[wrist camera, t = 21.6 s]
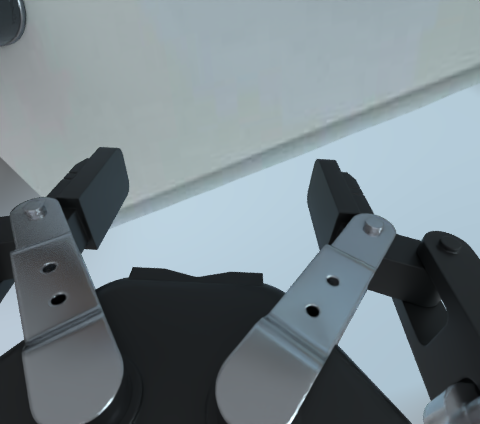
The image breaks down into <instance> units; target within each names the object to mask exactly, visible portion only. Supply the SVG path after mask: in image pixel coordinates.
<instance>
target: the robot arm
mask: <svg viewBox="0 0 480 424" xmlns="http://www.w3.org/2000/svg"><path fill="white" fill-rule="evenodd" d="M25 25H26V12H25V7H24V3H23V0H0V46H5V45H10V44H12V43H14V42H16V41H17V40H18V39H19V38H20V37H21V36H22V34H23V32H24V29H25ZM128 192H129V180H128V175H127V171H126V167H125V162H124V158H123V154H122V151H121V149H120V148H107V147H99V148H98V149H97V150H96V152H95V153H94V154H93V155H92V156H91V157H90V158H87V159H85V160H83V161H81V162H79V163H78V164H76V165H75V166H74V167H73V168H72V169H71V170H70V171H69V173H68V174H67V175H66V176H65V177H64V179H62V180H61V181H60V182H59V183H58V185H57V186H56V187H55V188H54V189H53V190H52V191H51V192H50V193H49V194H48V195H47V197H39V198H34V199H31V200H27V201H25V202H23V203H21V204H19V205H18V206H16V207H15V208H14V209H13V210H12V211H11V213H10V216H4V217H0V303H1V301H2V299H3V298H4V297H5V295H6V293H7V292H8V291H9V289H10V288H11V286H12V285H13V284H14V282H15V287H16V293H17V299H18V305H19V311H20V316H21V323H22V328H23V334H24V340H23V341H21V342H20V343H19V344H17V345H16V346H14V347H13V348H11V349H10V350H9V351H7V352H6V353H4V354H3V355H2V356H0V424H412V423H411V422H410V421H409V420H408V419H407V418H406V417H405V416H404V415H403V414H402V413H401V411H400V410H399V409H398V408H397V407H396V406H395V405H394V404H393V403H392V402H391V401H390V400H389V399H388V398H387V397H386V396H385V395H384V393H383V392H382V391H380V389H379V388H378V387H377V386H376V385H375V384H374V383H373V382H372V381H371V380H370V379H369V378H368V377H367V376H366V375H365V373H364V372H363V371H362V370H361V369H360V368H359V367H358V366H357V365H356V364H355V363H354V362H353V361H352V360H351V359H350V358H349V357H348V356H347V354H346V353H345V352H344V351H343V350H342V349H341V348H340V347H339V346H338V343H339V341H340V339H341V337H342V335H343V333H344V332H345V330H346V328H347V326H348V324H349V322H350V320H351V319H352V317H353V315H354V313H355V311H356V310H357V308H358V306H359V304H360V302H361V300H362V298H363V297H364V295H365V293H366V291H367V289H368V290H371V291H374V292H377V293H380V294H384V295H387V296H390V297H392V299H393V302H394V305H395V307H396V310H397V313H398V315H399V318H400V320H401V323H402V326H403V328H404V331H405V334H406V336H407V339H408V342H409V344H410V347H411V349H412V352H413V355H414V357H415V360H416V363H417V365H418V368H419V371H420V373H421V376H422V378H423V381H424V384H425V386H426V389H427V391H428V394H429V397H430V400H431V402H430V403H428V404H427V406H426V407H425V410H424V414H423V421H424V424H480V259H479V258H478V256H477V255H476V254H475V252H474V251H473V250H472V249H471V247H470V246H469V245H468V244H467V243H466V242H464V241H463V240H461V239H460V238H458V237H456V236H454V235H452V234H449V233H446V232H441V231H431V232H428V233H426V234H425V236H424V237H423V239H422V241H420V240H416V239H412V238H409V237H405V236H401V235H398V234H396V230H395V228H394V226H393V225H392V224H391V223H390V222H389V221H387V220H386V219H384V218H382V217H380V216H377V215H374V213H373V211H372V209H371V207H370V206H369V204H368V202H367V200H366V198H365V196H364V195H363V193H362V191H361V189H360V187H359V185H358V183H357V181H356V180H355V179H354V178H353V177H352V176H351V175H349V174H348V173H347V172H341V170H340V168H339V166H338V164H337V162H336V161H335V160H326V159H317V160H316V161H315V164H314V168H313V172H312V176H311V180H310V185H309V189H308V196H307V203H308V208H309V211H310V215H311V219H312V223H313V227H314V230H315V234H316V238H317V241H318V246H319V249H320V251H319V253H318V254H317V255H316V256H315V258H314V259H313V260H312V261H311V262H310V264H309V265H308V266H307V268H306V269H305V270H304V271H303V273H302V274H301V275H300V276H299V277H298V279H297V280H296V281H295V282H294V283H293V285H292V286H291V287H290V288H289V290H288V291H287V292H286V293H285V292H283V291H281V290H279V289H277V288H276V287H273V286H270V285H268V284H264V283H263V274H262V273H245V272H244V273H243V272H227V273H221V274H214V275H208V276H203V277H194V276H190V275H186V274H183V273H179V272H175V271H171V270H168V269H161V268H140V267H133V268H132V271H131V273H130V276H129V277H128V278H123V279H119V280H116V281H113V282H110V283H108V284H106V285H104V286H101V287H100V288H98V289H95V287H94V284H93V282H92V279H91V277H90V275H89V272H88V270H87V267H86V265H85V262H84V260H83V257H82V255H81V253H82V252H83V250H84V249H93V250H97V249H98V248H99V246H100V244H101V242H102V240H103V238H104V237H105V235H106V233H107V231H108V229H109V228H110V226H111V224H112V222H113V220H114V219H115V217H116V215H117V213H118V211H119V210H120V208H121V206H122V204H123V202H124V200H125V199H126V197H127V195H128ZM441 299H442V301H443V303H444V305H445V307H446V309H445V307H444V305H443V303H442V302H441ZM446 310H447V311H446Z"/></svg>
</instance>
